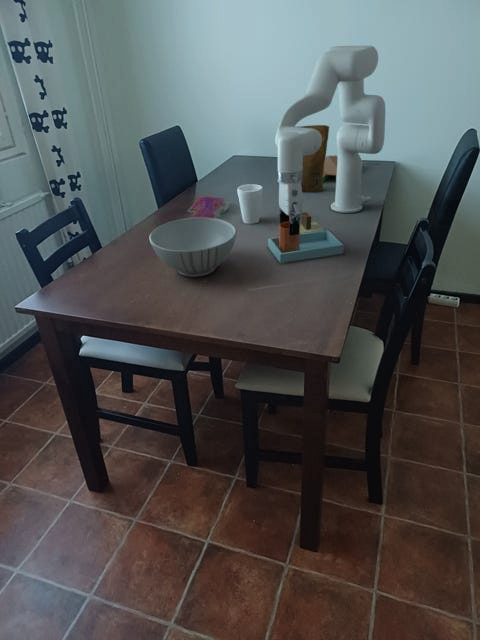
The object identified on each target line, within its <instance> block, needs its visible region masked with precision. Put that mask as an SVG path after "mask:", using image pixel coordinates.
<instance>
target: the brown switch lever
mask: <svg viewBox="0 0 480 640" xmlns="http://www.w3.org/2000/svg"><path fill="white" fill-rule="evenodd" d="M300 222H301V223H300V224H301V225H302V226H303V227H304V228H305V229H306V230H308V229H311V223H312V215H310V214H309V213H308V212H306V211H305V212H302V214H301V215H300Z"/></svg>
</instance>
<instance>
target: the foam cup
mask: <svg viewBox="0 0 480 640" xmlns="http://www.w3.org/2000/svg"><path fill="white" fill-rule="evenodd" d="M236 188H237V189H236V191H237V192H236V193H237V196H238V200H239V207H240V212H241V218H242V222H243V223H244V224H247V225H254V224H257V223H259V222H260V216H261V208H262V199H263V192H264V191H263V186H262V185H260V184H257V183H256V184H255V183H254V184H253V183H247V184H242V185H240V186H238V187H236Z"/></svg>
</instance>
